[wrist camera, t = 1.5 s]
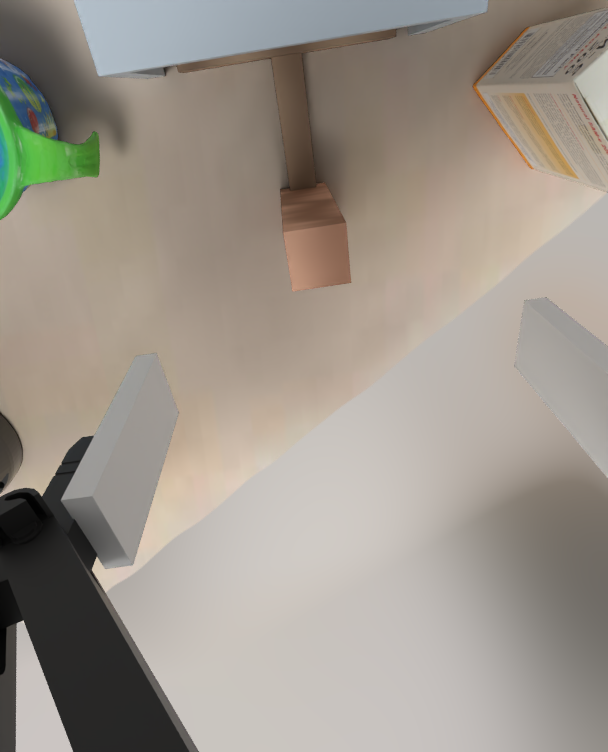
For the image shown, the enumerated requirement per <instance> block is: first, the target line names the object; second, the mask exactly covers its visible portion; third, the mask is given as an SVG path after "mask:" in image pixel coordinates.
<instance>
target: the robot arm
mask: <svg viewBox="0 0 608 752" xmlns="http://www.w3.org/2000/svg"><path fill="white" fill-rule="evenodd" d="M514 366H515V368H516V369H517V370H518V371H519V373H520V374H521V375H522V376H523V377H524V379H525V380H526V381H527V382H528V383H529V385H530V386H531V387H532V388H533V389H534V391H535V392H536V393H537V394H538V395H539V397H540V398H541V399H542V400H543V401H544V403H545V404H546V405H547V406H548V407H549V409H550V410H551V411H552V412H553V413H554V415H555V416H556V417H557V418H558V419H559V420H560V422H561V423H562V424H563V425H564V426H565V428H566V429H567V430H568V431H569V432H570V434H571V435H572V436H573V437H574V438H575V440H576V441H577V442H578V443H579V444H580V446H581V447H582V448H583V449H584V450H585V452H586V453H587V454H588V455H589V456H590V457H591V459H592V460H593V461H594V462H595V464H596V465H597V466H598V467H599V468H600V470H601V471H602V472H603V473H604V474H605V476H606V477H607V478H608V346H607V345H606V344H604V343H603V342H602V341H601V340H599V339H598V338H597V337H596V336H594V335H593V334H592V333H591V332H589V331H588V330H587V329H586V328H584V327H583V326H582V325H581V324H579V323H578V322H577V321H575V320H574V319H573V318H572V317H570V316H569V315H568V314H567V313H565V312H564V311H563V310H562V309H560V308H559V307H558V306H557V305H555V304H554V303H553V302H552V301H550V300H549V299H548V298H547V297H545V298H538V299H531V300H525V301H524V306H523V313H522V319H521V325H520V332H519V338H518V345H517V351H516V358H515V365H514ZM178 414H179V412H178V409H177V406H176V403H175V401H174V398H173V395H172V393H171V390H170V387H169V385H168V382H167V379H166V376H165V374H164V371H163V368H162V366H161V363H160V360H159V358H158V355H157V353H153V354H146V355H139V356H136V357H135V359H134V361H133V362H132V364H131V366H130V368H129V370H128V372H127V374H126V376H125V378H124V380H123V382H122V384H121V385H120V387H119V389H118V391H117V393H116V395H115V397H114V399H113V401H112V403H111V405H110V407H109V408H108V410H107V412H106V414H105V416H104V418H103V420H102V422H101V424H100V426H99V428H98V430H97V431H96V433H95V435H94V436H88V437H82V438H81V439H80V440H79V441H78V442H77V443H76V444H74V445H73V446H72V447H71V448H70V449H69V451H68V452H67V454H66V456H65V458H64V459H63V461H62V465H60V466H59V468H58V470H57V472H56V473H55V474H56V476H54V477H53V479H52V480H51V482H50V484H49V486H48V487H47V489H46V491H45V493H44V494H43V496H42V497H41V495H40V494H39V493H38V492H37V491H36V490H35V489H30V488H23V489H18V490H14V491H12V492H10V493H7V494H5V495H3V496H1V497H0V752H15V746H16V738H15V737H16V624H17V623H18V622H20V621H23V620H24V623H25V625H26V628H27V631H28V633H29V636H30V639H31V641H32V644H33V646H34V649H35V651H36V654H37V657H38V660H39V662H40V665H41V668H42V670H43V673H44V676H45V678H46V681H47V683H48V686H49V689H50V691H51V694H52V697H53V699H54V702H55V704H56V707H57V710H58V712H59V715H60V718H61V720H62V723H63V726H64V728H65V731H66V734H67V736H68V739H69V741H70V744H71V747H72V749H73V752H199V751H198V750H197V748H196V746H195V744H194V743H193V741H192V739H191V738H190V736H189V734H188V732H187V731H186V729H185V727H184V726H183V724H182V722H181V721H180V719H179V717H178V715H177V714H176V712H175V710H174V709H173V707H172V705H171V703H170V702H169V700H168V698H167V697H166V695H165V693H164V692H163V690H162V688H161V686H160V685H159V683H158V681H157V680H156V678H155V676H154V675H153V673H152V671H151V670H150V668H149V666H148V664H147V663H146V661H145V659H144V658H143V656H142V654H141V652H140V651H139V649H138V647H137V646H136V644H135V642H134V641H133V639H132V637H131V635H130V634H129V632H128V630H127V629H126V627H125V625H124V624H123V622H122V620H121V618H120V617H119V615H118V613H117V612H116V610H115V608H114V607H113V605H112V603H111V602H110V600H109V598H108V597H107V595H106V593H105V591H104V590H103V588H102V586H101V584H100V583H99V581H98V579H97V578H96V576H95V575H94V573H93V572H92V567H93V565H94V562H95V559H96V557H98V559H99V560H100V562H101V563H102V565H103V566H104V568H105V569H108V568H116V567H124V566H132V565H133V564H134V560H135V557H136V554H137V550H138V547H139V544H140V540H141V537H142V534H143V530H144V527H145V524H146V520H147V517H148V514H149V510H150V507H151V504H152V500H153V497H154V494H155V490H156V487H157V484H158V480H159V477H160V474H161V470H162V467H163V464H164V460H165V457H166V454H167V450H168V447H169V444H170V441H171V437H172V434H173V431H174V427H175V424H176V421H177V417H178ZM21 462H22V448H21V444H20V441H19V439H18V437H17V435H16V433H15V431H14V430H13V428H12V427H11V425H10V424H9V423H8V422H7V421H6V420H5V418H4V417H3V416H1V415H0V494H1V493H2V492H3V491H4V490H5V489H6V487H7V486H8V485H9V484H10V482H11V481H12V479H13V478H14V476H15V475H16V473H17V472H18V470H19V468H20V466H21Z"/></svg>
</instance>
